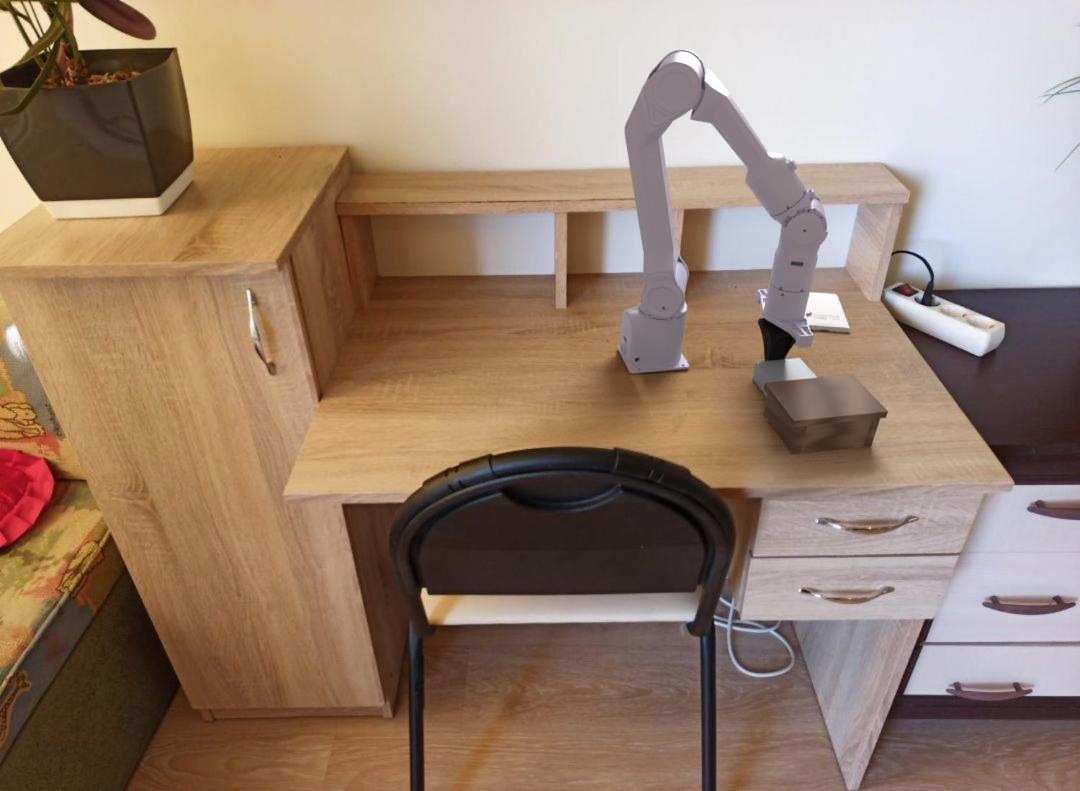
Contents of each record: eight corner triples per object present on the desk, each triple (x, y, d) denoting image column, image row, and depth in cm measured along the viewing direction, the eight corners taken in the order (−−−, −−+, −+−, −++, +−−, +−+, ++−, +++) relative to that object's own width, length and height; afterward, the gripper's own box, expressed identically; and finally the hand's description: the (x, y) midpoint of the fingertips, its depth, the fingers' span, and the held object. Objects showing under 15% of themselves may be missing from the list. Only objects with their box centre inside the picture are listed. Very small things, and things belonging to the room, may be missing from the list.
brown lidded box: (785, 454, 99) (794, 420, 96) (757, 415, 106) (764, 382, 103) (877, 445, 101) (888, 411, 98) (843, 406, 108) (852, 374, 105)
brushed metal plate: (794, 434, 103) (798, 416, 101) (752, 378, 114) (755, 361, 113) (841, 428, 104) (846, 411, 102) (795, 374, 115) (799, 357, 114)
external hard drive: (835, 302, 137) (848, 335, 127) (789, 298, 138) (798, 332, 128) (837, 293, 136) (851, 327, 126) (790, 290, 137) (800, 323, 127)
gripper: (841, 304, 102) (820, 388, 110) (793, 260, 114) (777, 339, 121) (792, 308, 101) (774, 393, 109) (749, 263, 113) (735, 342, 120)
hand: (772, 365), depth 115 cm, fingers closed
